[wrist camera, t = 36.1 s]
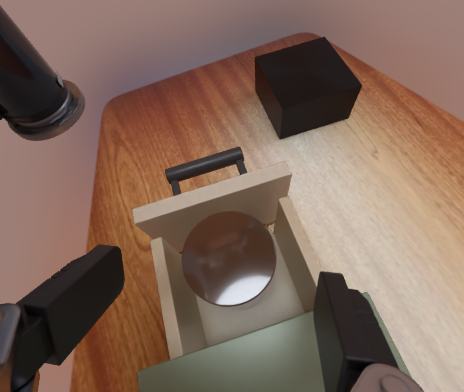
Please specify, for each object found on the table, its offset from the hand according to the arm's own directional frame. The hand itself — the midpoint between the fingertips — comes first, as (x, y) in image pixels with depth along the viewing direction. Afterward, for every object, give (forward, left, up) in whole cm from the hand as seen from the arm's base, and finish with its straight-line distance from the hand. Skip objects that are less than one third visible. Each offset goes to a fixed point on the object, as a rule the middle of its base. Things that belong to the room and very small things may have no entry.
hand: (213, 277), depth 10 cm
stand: (+15, +21, -16) cm, 30 cm away
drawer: (+1, +3, -15) cm, 15 cm away
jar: (+1, +2, -14) cm, 14 cm away
